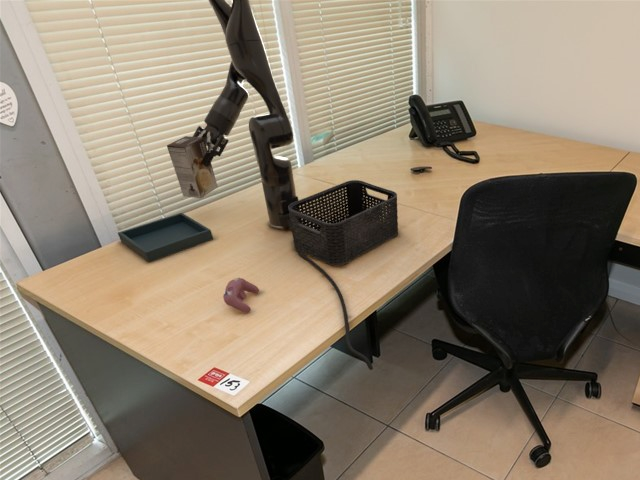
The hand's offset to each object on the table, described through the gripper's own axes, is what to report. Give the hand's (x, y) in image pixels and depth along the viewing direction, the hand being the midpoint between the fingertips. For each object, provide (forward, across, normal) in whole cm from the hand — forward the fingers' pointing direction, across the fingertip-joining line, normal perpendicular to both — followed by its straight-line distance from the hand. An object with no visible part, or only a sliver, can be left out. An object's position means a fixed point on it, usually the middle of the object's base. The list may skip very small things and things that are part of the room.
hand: (197, 161), depth 158 cm
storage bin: (0, +47, +24) cm, 53 cm away
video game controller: (+27, +53, -3) cm, 60 cm away
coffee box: (+8, +1, +5) cm, 9 cm away
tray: (+25, +10, -2) cm, 27 cm away
